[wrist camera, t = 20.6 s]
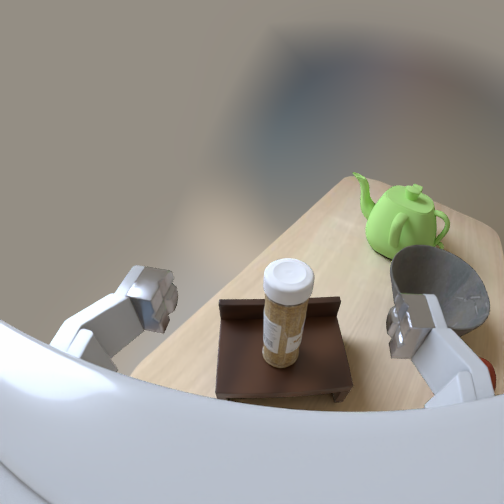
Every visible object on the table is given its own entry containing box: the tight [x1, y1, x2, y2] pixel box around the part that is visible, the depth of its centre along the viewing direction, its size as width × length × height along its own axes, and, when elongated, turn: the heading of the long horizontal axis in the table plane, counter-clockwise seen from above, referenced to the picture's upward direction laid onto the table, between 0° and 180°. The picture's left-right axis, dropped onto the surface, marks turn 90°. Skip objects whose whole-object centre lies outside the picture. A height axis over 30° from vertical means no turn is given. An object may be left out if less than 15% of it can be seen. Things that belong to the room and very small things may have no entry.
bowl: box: [390, 245, 490, 336], centre depth 38 cm, size 19×19×10 cm
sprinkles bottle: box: [262, 258, 314, 368], centre depth 29 cm, size 5×5×14 cm
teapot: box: [353, 172, 450, 259], centre depth 55 cm, size 19×20×14 cm
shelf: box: [215, 297, 353, 402], centre depth 34 cm, size 16×12×8 cm
